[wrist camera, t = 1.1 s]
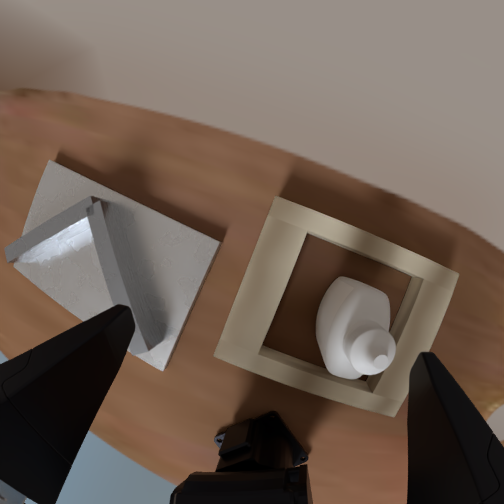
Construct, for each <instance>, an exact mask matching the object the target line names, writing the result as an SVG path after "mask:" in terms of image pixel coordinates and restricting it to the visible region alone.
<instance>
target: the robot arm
mask: <svg viewBox="0 0 504 504" xmlns="http://www.w3.org/2000/svg"><path fill="white" fill-rule="evenodd" d="M135 328H136V326H135V321H134V318H133V314H132V311H131V308H130V307H129V306H126V305H122V304H117V305H115V306H113V307H111V308H109V309H107V310H105V311H103V312H101V313H99V314H97V315H95V316H94V317H92V318H90V319H88V320H86V321H84V322H82V323H80V324H78V325H76V326H74V327H72V328H70V329H69V330H67V331H65V332H63V333H61V334H59V335H57V336H55V337H53V338H51V339H49V340H47V341H46V342H44V343H42V344H40V345H38V346H36V347H34V348H33V349H30V350H28V351H27V352H25V353H23V354H21V355H19V356H17V357H15V358H13V359H11V360H8V361H6V362H4V363H2V364H0V504H25V503H24V502H25V500H26V498H29V499H31V500H32V501H34V502H36V503H37V504H55V503H56V501H57V499H58V496H59V494H60V492H61V489H62V487H63V485H64V483H65V480H66V478H67V476H68V474H69V471H70V469H71V467H72V464H73V462H74V460H75V458H76V456H77V453H78V451H79V449H80V447H81V445H82V443H83V441H84V439H85V437H86V434H87V432H88V430H89V428H90V426H91V424H92V422H93V420H94V418H95V416H96V414H97V412H98V410H99V408H100V406H101V404H102V402H103V400H104V398H105V396H106V394H107V392H108V390H109V388H110V386H111V385H112V383H113V381H114V379H115V377H116V375H117V373H118V371H119V369H120V367H121V364H122V362H123V359H124V357H125V354H126V352H127V349H128V347H129V345H130V342H131V340H132V337H133V335H134V332H135ZM270 416H275V418H271V417H270ZM407 427H408V493H407V504H504V447H503V445H502V444H501V443H500V441H499V440H498V438H497V437H496V435H495V434H494V433H493V431H492V430H491V428H490V427H489V425H488V424H487V423H486V421H485V420H484V418H483V417H482V416H481V414H480V413H479V411H478V410H477V409H476V407H475V406H474V404H473V403H472V402H471V400H470V399H469V398H468V396H467V395H466V394H465V392H464V391H463V390H462V388H461V387H460V386H459V384H458V383H457V382H456V381H455V379H454V378H453V377H452V375H451V374H450V373H449V371H448V370H447V369H446V368H445V366H444V365H443V364H442V363H441V361H440V360H439V359H438V358H437V356H436V355H435V354H434V353H433V352H420V353H419V355H418V357H417V358H416V360H415V362H414V364H413V366H412V368H411V370H410V374H409V398H408V418H407ZM218 439H221V441H220V440H218ZM214 442H215V443H216V444H217V446H218V447H219V448H220V450H219V453H218V455H219V456H220V459H219V462H218V465H217V468H216V471H215V472H194V473H192V474H190V475H189V477H188V478H187V479H186V480H185V481H183V482H182V483H181V484H180V485H179V486H177V487H176V488H175V489H174V491H173V493H172V494H171V497H170V504H313V500H312V493H311V487H310V480H309V473H308V467H307V464H305V465H300V464H302V463H304V462H306V461H307V460H308V454H307V453H306V452H305V450H304V449H303V448H302V446H301V445H300V444H299V442H298V441H297V439H296V438H295V437H294V435H293V434H292V433H291V431H290V430H289V429H288V427H287V426H286V424H285V423H284V422H283V420H282V419H281V417H280V416H279V415H278V413H277V412H275V411H270V412H268V413H266V414H264V415H262V416H259V417H257V418H255V419H248V420H245V421H243V422H241V423H239V424H236V425H234V426H232V427H229V428H227V431H225V432H222V433H220V434H217V435H216V436H215V438H214ZM301 457H305V458H301ZM297 465H300V466H299V467H295V466H297Z"/></svg>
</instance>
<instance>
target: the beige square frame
mask: <svg viewBox="0 0 504 504" xmlns="http://www.w3.org/2000/svg"><path fill="white" fill-rule="evenodd" d="M307 233H308V234H310V235H313V236H315V237H318V238H320V239H323V240H325V241H328V242H330V243H333V244H335V245H338V246H340V247H343V248H345V249H348V250H350V251H353V252H355V253H358V254H360V255H362V256H365V257H367V258H370V259H372V260H374V261H377V262H379V263H382V264H384V265H386V266H389V267H391V268H393V269H396V270H398V271H401V272H403V273H405V274H408V275H410V276H412V277H411V280H410V283H409V285H408V288H407V291H406V293H405V296H404V298H403V301H402V303H401V306H400V308H399V311H398V313H397V316H396V318H395V320H394V323H393V325H392V327H391V330H390V332H389V333H390V334H391V335H392V336H393V338H394V340H395V345H396V346H395V347H396V351H395V352H396V353H395V356H394V358H393V360H392V362H391V364H390V365H389V366H388V368H386V369H385V370H384V371H382V372H380V373H377V374H375V375H374V374H373V375H369V376H368V378H367V380H366V382H365V381H362V380H359V379H346V378H342V377H338V376H335V375H333V374H331V373H330V372H329V371H328V370H327V369H326V368H323V367H320V366H317V365H314V364H311V363H308V362H306V361H303V360H300V359H297V358H295V357H292V356H289V355H287V354H284V353H281V352H279V351H276V350H273V349H271V348H268V347H265V346H263V345H262V343H263V341H264V339H265V336H266V334H267V332H268V329H269V327H270V324H271V322H272V320H273V317H274V315H275V312H276V310H277V308H278V305H279V303H280V300H281V298H282V295H283V293H284V290H285V288H286V285H287V283H288V280H289V278H290V275H291V273H292V270H293V268H294V265H295V263H296V260H297V258H298V255H299V252H300V250H301V247H302V245H303V242H304V239H305V237H306V234H307ZM458 276H459V273H457V272H455V271H452V270H450V269H448V268H446V267H444V266H442V265H440V264H438V263H436V262H433V261H431V260H429V259H427V258H425V257H423V256H420V255H418V254H416V253H414V252H412V251H409V250H407V249H405V248H403V247H401V246H398V245H396V244H394V243H391V242H389V241H387V240H385V239H382V238H380V237H378V236H375V235H373V234H371V233H368V232H366V231H364V230H361V229H359V228H356V227H354V226H352V225H349V224H347V223H344V222H342V221H339V220H337V219H334V218H332V217H330V216H327V215H325V214H322V213H319V212H317V211H314V210H312V209H309V208H307V207H304V206H302V205H299V204H296V203H294V202H291V201H289V200H286V199H283V198H281V197H278V196H275V198H274V201H273V203H272V206H271V208H270V211H269V214H268V216H267V219H266V221H265V224H264V227H263V229H262V232H261V234H260V237H259V239H258V242H257V245H256V247H255V250H254V252H253V255H252V258H251V260H250V263H249V265H248V268H247V270H246V273H245V276H244V278H243V281H242V283H241V286H240V288H239V291H238V294H237V296H236V299H235V301H234V304H233V306H232V309H231V312H230V314H229V317H228V319H227V322H226V324H225V327H224V330H223V332H222V335H221V337H220V340H219V342H218V345H217V348H216V350H215V353H214V355H213V356H214V357H217V358H219V359H221V360H224V361H226V362H228V363H231V364H233V365H236V366H238V367H241V368H243V369H246V370H248V371H251V372H253V373H256V374H259V375H261V376H264V377H267V378H269V379H272V380H275V381H277V382H280V383H283V384H286V385H289V386H291V387H294V388H297V389H300V390H303V391H306V392H309V393H312V394H315V395H318V396H321V397H324V398H327V399H331V400H334V401H337V402H340V403H344V404H347V405H351V406H354V407H357V408H361V409H365V410H368V411H372V412H376V413H379V414H383V415H387V416H391V417H395V415H396V413H397V412H398V410H399V408H400V406H401V405H402V403H403V401H404V399H405V398H406V396H407V394H408V392H409V374H410V370H411V368H412V366H413V364H414V362H415V360H416V358H417V357H418V355H419V353H420V352H429V350H430V348H431V346H432V343H433V341H434V339H435V337H436V334H437V332H438V330H439V327H440V325H441V322H442V320H443V317H444V315H445V312H446V310H447V307H448V305H449V302H450V299H451V297H452V294H453V291H454V288H455V285H456V282H457V279H458Z"/></svg>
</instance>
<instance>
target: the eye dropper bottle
mask: <svg viewBox="0 0 504 504" xmlns="http://www.w3.org/2000/svg"><path fill="white" fill-rule="evenodd" d="M389 326H390V304H389V299H388V297H387V295H386V294H385V293H383V292H382V291H380V290H378V289H376V288H374V287H371V286H369V285H367V284H365V283H362V282H360V281H357V280H354V279H351V278H348V277H344V276H341V277H338V278H336V279H335V281H334V282H333V283H332V284H331V285H330V287H329V288H328V290H327V291H326V293H325V295H324V296H323V298H322V301H321V303H320V306H319V309H318V313H317V318H316V339H317V342H318V345H319V348H320V351H321V354H322V357H323V360H324V363H325V365H326V368H327V370H328V371H329V372H330V373H331V374H333V375H335V376H338V377H342V378H346V379H357V378H359V377H361V376H362V375H363V374H364V375H373V374H374V375H375V374H377V373H380V372H382V371H384V370H385V369H386V368H388V366H389V365H390V364H391V362H392V360H393V358H394V356H395V353H396V352H395V351H396V347H395V346H396V345H395V340H394V338H393V336H392V335H391V334H390V333H389Z"/></svg>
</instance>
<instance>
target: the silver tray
mask: <svg viewBox="0 0 504 504" xmlns="http://www.w3.org/2000/svg"><path fill="white" fill-rule="evenodd" d="M221 245H222V242H220V241H218V240H216V239H214V238H212V237H210V236H208V235H206V234H204V233H202V232H199V231H197V230H195V229H193V228H191V227H189V226H187V225H185V224H183V223H181V222H179V221H177V220H174V219H172V218H170V217H168V216H166V215H164V214H162V213H160V212H158V211H156V210H154V209H152V208H149V207H147V206H145V205H143V204H141V203H139V202H137V201H135V200H133V199H131V198H129V197H127V196H125V195H123V194H120V193H118V192H116V191H114V190H112V189H110V188H108V187H106V186H104V185H102V184H100V183H98V182H96V181H94V180H91V179H89V178H87V177H85V176H83V175H81V174H79V173H77V172H75V171H73V170H71V169H69V168H67V167H65V166H63V165H61V164H58V163H56V162H54V161H51V160H49V161H48V164H47V166H46V168H45V171H44V173H43V176H42V178H41V181H40V183H39V186H38V189H37V191H36V194H35V197H34V199H33V202H32V205H31V208H30V211H29V214H28V217H27V220H26V223H25V227H24V230H23V233H22V237H20V238H19V239H17V240H16V241H14V242H13V243H11V244H10V245H8V246H7V247H5V253H6V258H7V263H14V267H15V268H16V269H17V270H18V271H19V272H20V273H22V274H23V275H24V276H25V277H26V278H28V279H29V280H30V281H31V282H32V283H34V284H35V285H36V286H37V287H39V288H40V289H41V290H42V291H44V292H45V293H46V294H47V295H49V296H50V297H51V298H52V299H54V300H55V301H56V302H58V303H59V304H60V305H62V306H63V307H64V308H66V309H67V310H68V311H70V312H71V313H72V314H74V315H75V316H77V317H78V318H79V319H81V320H82V321H86V320H88V319H90V318H92V317H94V316H95V315H97V314H99V313H101V312H103V311H105V310H107V309H109V308H111V307H113V306H115V305H117V304H122V305H126V306H129V307H130V308H131V311H132V314H133V318H134V321H135V326H136V328H135V332H134V335H133V337H132V340H131V342H130V345H129V347H128V349H127V351H129V352H131V353H132V356H133V355H135V356H137V357H139V358H140V359H142V360H144V361H145V362H147V363H149V364H151V365H152V366H154V367H156V368H157V369H159V370H161V371H164V370H165V369H166V368H167V366H168V364H169V361H170V359H171V357H172V354H173V352H174V350H175V347H176V345H177V343H178V341H179V338H180V336H181V334H182V331H183V329H184V327H185V324H186V322H187V320H188V318H189V315H190V313H191V311H192V309H193V306H194V304H195V302H196V300H197V297H198V295H199V293H200V291H201V288H202V286H203V284H204V282H205V280H206V277H207V275H208V273H209V271H210V269H211V266H212V264H213V262H214V260H215V258H216V255H217V253H218V251H219V249H220V247H221Z"/></svg>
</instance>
